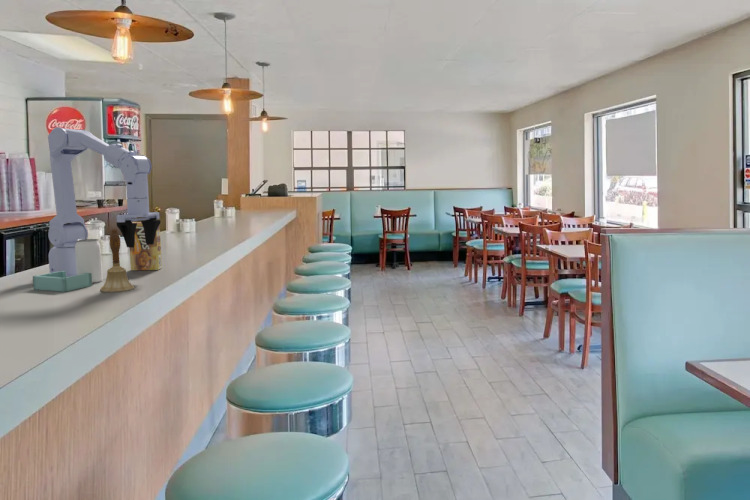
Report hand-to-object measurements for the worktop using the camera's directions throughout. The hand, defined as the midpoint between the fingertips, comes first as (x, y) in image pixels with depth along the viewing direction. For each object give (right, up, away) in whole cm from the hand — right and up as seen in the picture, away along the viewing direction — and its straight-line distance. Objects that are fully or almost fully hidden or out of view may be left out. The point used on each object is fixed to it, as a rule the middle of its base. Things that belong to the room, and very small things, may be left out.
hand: (140, 245), depth 167 cm
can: (-14, -11, -1) cm, 17 cm away
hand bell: (-1, -12, -12) cm, 17 cm away
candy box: (-7, -8, +21) cm, 23 cm away
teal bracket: (-17, -11, -9) cm, 23 cm away
